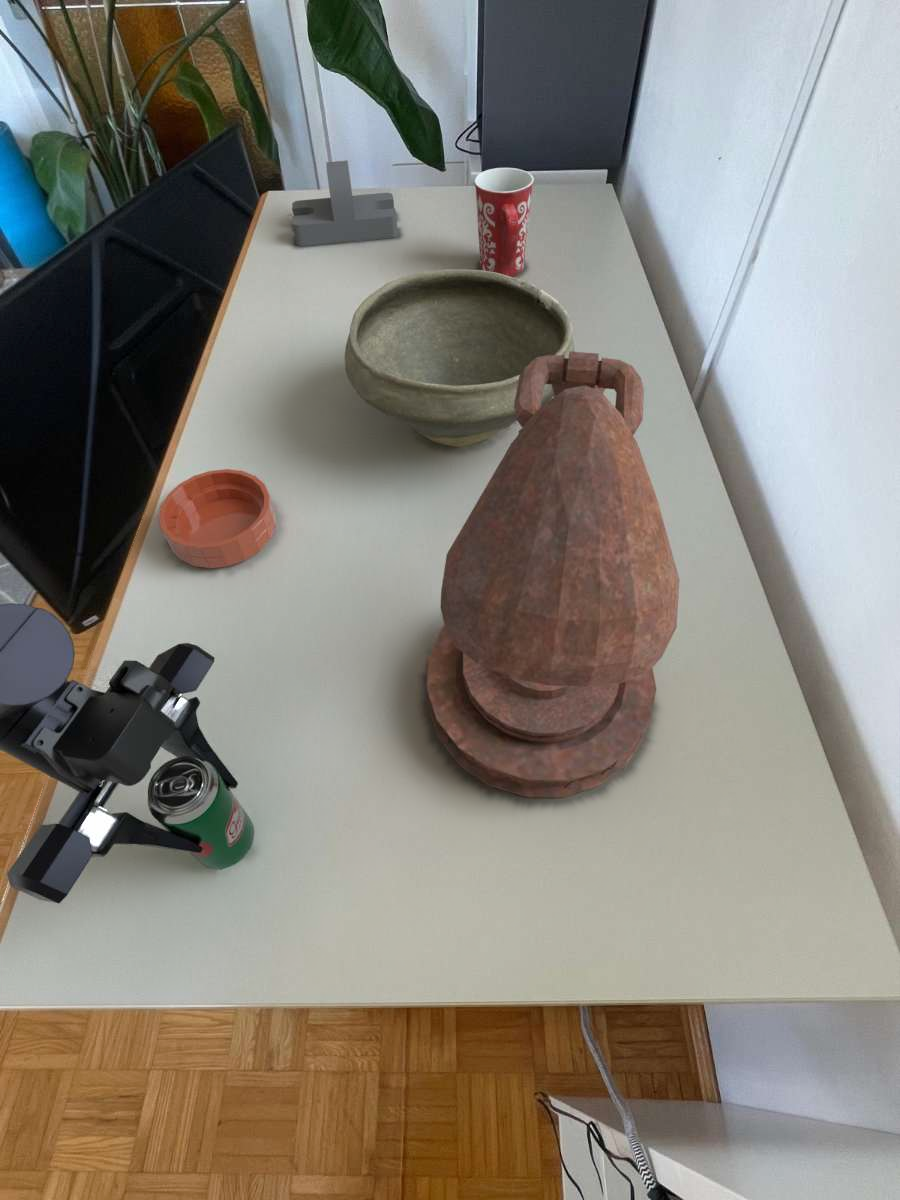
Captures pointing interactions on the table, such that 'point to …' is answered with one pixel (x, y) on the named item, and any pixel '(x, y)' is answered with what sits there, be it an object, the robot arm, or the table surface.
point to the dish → (218, 518)
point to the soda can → (201, 811)
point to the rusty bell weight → (557, 592)
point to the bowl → (452, 350)
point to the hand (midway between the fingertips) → (217, 818)
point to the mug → (503, 218)
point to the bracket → (343, 213)
